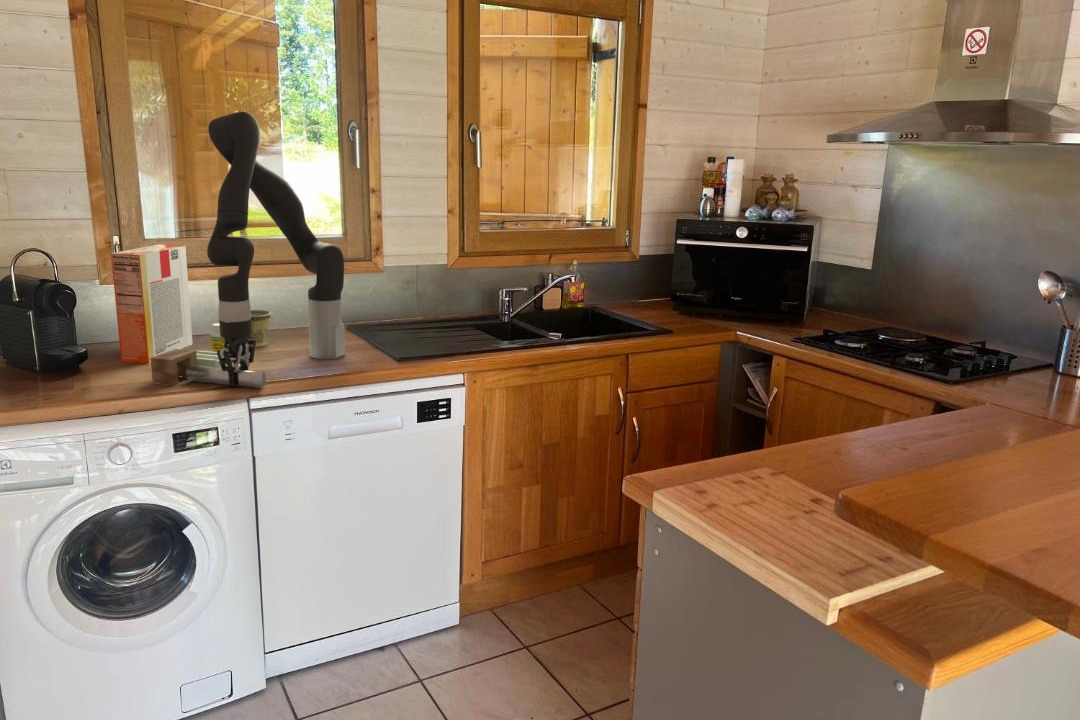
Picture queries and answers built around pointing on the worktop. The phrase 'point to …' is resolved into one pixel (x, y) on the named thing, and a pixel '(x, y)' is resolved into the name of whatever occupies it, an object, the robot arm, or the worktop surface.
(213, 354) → the light green ridged block
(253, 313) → the ceramic cup
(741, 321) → the worktop surface
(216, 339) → the supplement bottle
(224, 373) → the axle
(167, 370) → the brown arch block
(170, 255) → the pasta box
